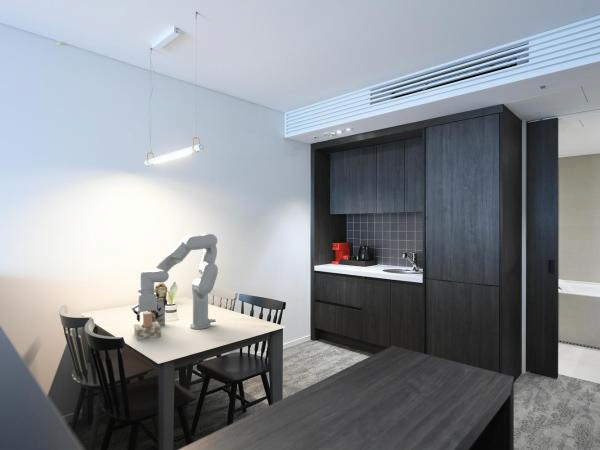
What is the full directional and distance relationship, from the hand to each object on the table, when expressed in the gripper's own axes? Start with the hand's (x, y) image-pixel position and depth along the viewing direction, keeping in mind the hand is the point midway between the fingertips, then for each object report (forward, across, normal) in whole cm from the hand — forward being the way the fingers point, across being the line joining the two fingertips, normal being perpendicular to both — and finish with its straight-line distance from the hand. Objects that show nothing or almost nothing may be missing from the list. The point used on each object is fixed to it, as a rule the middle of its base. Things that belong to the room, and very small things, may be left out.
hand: (147, 320), depth 217 cm
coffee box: (+9, +8, +20) cm, 23 cm away
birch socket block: (+9, 0, 0) cm, 9 cm away
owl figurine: (+9, +20, +82) cm, 85 cm away
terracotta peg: (+8, 0, 0) cm, 8 cm away
